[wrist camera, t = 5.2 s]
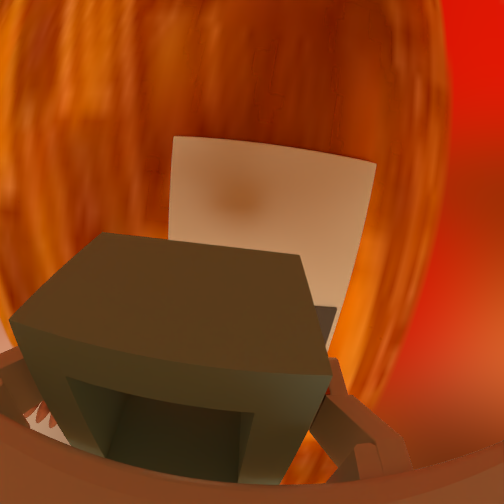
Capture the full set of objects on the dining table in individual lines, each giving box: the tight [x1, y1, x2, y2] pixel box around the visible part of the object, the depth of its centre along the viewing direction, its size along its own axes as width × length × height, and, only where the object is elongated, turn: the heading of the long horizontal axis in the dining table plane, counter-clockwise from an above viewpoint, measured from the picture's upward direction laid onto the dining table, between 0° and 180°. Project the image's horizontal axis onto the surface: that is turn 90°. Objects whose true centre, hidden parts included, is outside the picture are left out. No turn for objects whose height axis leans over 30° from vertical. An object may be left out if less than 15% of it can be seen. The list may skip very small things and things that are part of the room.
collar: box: [9, 232, 333, 485], centre depth 8 cm, size 6×6×5 cm
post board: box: [168, 136, 377, 351], centre depth 23 cm, size 24×15×8 cm, turn 173°
